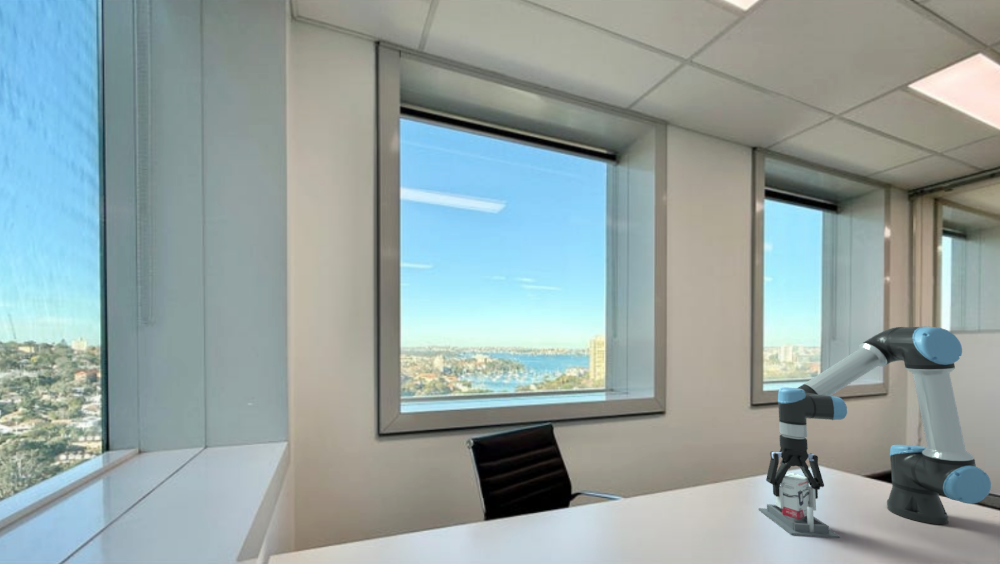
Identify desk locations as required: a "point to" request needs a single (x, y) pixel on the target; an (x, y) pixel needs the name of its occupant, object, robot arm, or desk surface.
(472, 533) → the desk surface
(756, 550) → the desk surface
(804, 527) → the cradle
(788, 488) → the ink box
